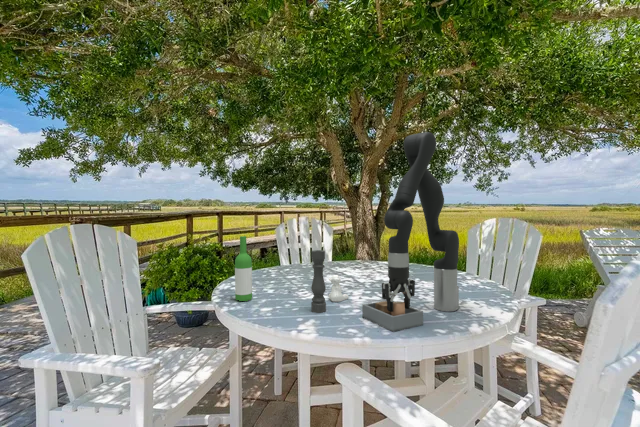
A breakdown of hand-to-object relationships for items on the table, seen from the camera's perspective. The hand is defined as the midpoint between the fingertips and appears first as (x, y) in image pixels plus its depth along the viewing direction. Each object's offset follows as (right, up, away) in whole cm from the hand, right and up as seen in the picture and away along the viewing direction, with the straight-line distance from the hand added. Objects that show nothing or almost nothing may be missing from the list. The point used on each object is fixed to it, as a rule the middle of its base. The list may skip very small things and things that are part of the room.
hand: (398, 309), depth 122 cm
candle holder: (-30, -6, +17) cm, 35 cm away
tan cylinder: (0, -5, 0) cm, 5 cm away
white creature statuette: (-21, -5, +33) cm, 40 cm away
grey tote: (-2, -5, +4) cm, 7 cm away
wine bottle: (-65, -6, +35) cm, 74 cm away
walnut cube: (-4, -5, +7) cm, 9 cm away
